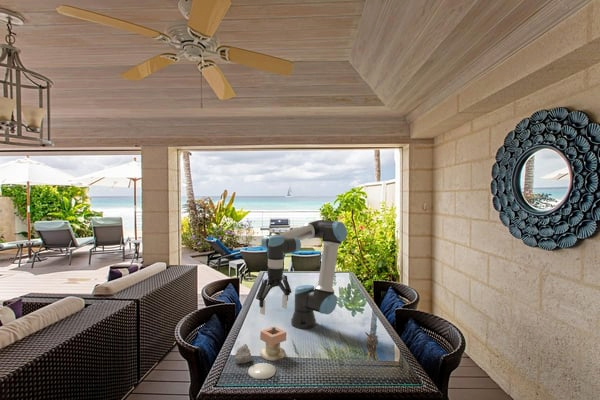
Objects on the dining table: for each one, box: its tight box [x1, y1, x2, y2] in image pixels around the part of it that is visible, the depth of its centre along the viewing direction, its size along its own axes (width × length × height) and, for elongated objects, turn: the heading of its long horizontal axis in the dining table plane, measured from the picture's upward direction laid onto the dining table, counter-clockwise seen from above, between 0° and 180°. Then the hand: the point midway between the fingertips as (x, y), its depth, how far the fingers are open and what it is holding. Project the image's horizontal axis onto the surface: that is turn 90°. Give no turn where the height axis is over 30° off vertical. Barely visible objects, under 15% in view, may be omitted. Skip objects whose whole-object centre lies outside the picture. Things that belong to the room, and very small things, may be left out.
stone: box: [233, 343, 253, 365], centre depth 150 cm, size 8×10×6 cm
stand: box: [259, 326, 286, 362], centre depth 156 cm, size 12×12×13 cm
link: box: [259, 326, 287, 346], centre depth 156 cm, size 9×9×4 cm
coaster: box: [247, 362, 276, 380], centre depth 140 cm, size 12×12×1 cm
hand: (273, 310), depth 155 cm, fingers open, 13 cm apart
